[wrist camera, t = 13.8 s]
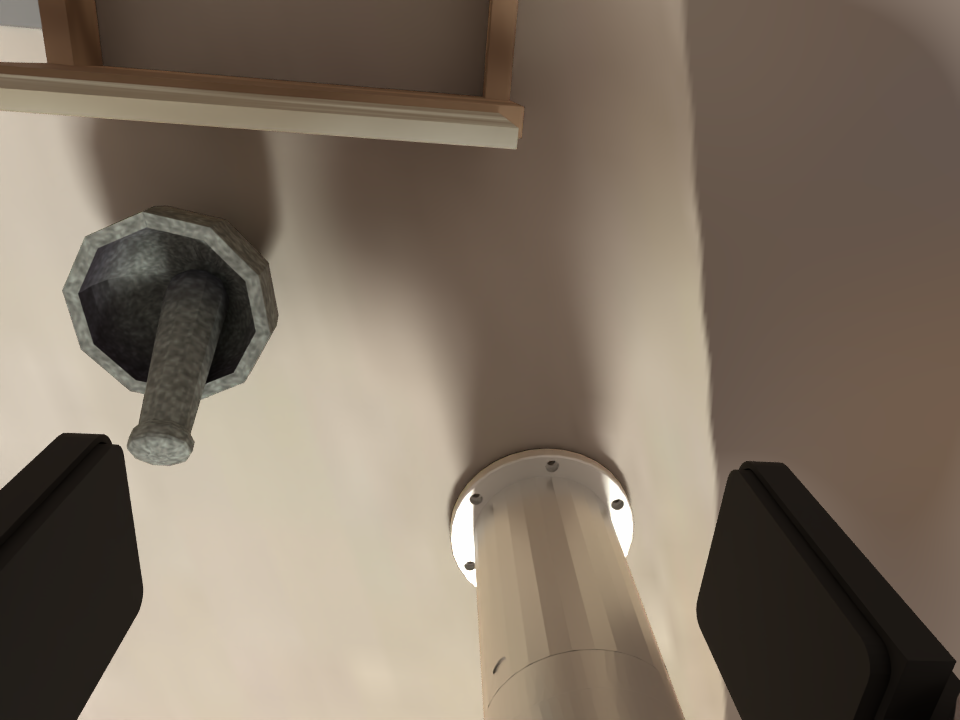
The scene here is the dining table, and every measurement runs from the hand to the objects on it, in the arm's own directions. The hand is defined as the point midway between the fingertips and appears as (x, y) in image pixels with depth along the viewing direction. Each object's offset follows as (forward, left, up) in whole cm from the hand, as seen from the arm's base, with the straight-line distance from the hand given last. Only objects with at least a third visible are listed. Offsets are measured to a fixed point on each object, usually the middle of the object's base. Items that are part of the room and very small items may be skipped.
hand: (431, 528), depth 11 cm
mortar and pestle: (-6, +13, -31) cm, 34 cm away
